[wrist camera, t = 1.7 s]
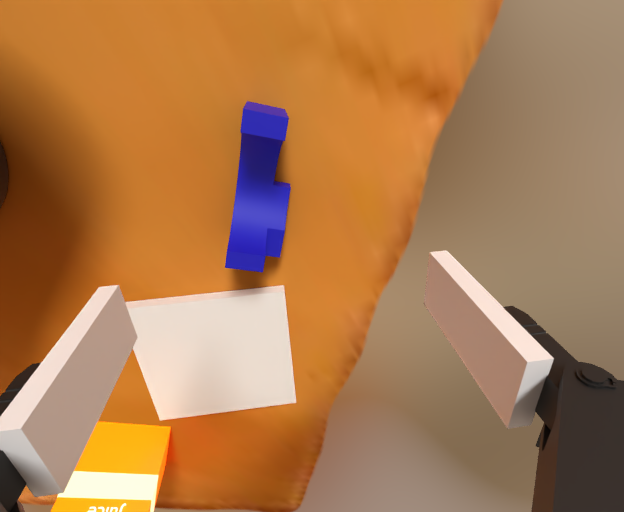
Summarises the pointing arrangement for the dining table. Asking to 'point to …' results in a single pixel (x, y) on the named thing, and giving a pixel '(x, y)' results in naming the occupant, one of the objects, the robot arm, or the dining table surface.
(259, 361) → the white pad
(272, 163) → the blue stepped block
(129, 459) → the orange juice
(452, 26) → the dining table surface
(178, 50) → the dining table surface
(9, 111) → the dining table surface
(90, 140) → the dining table surface
